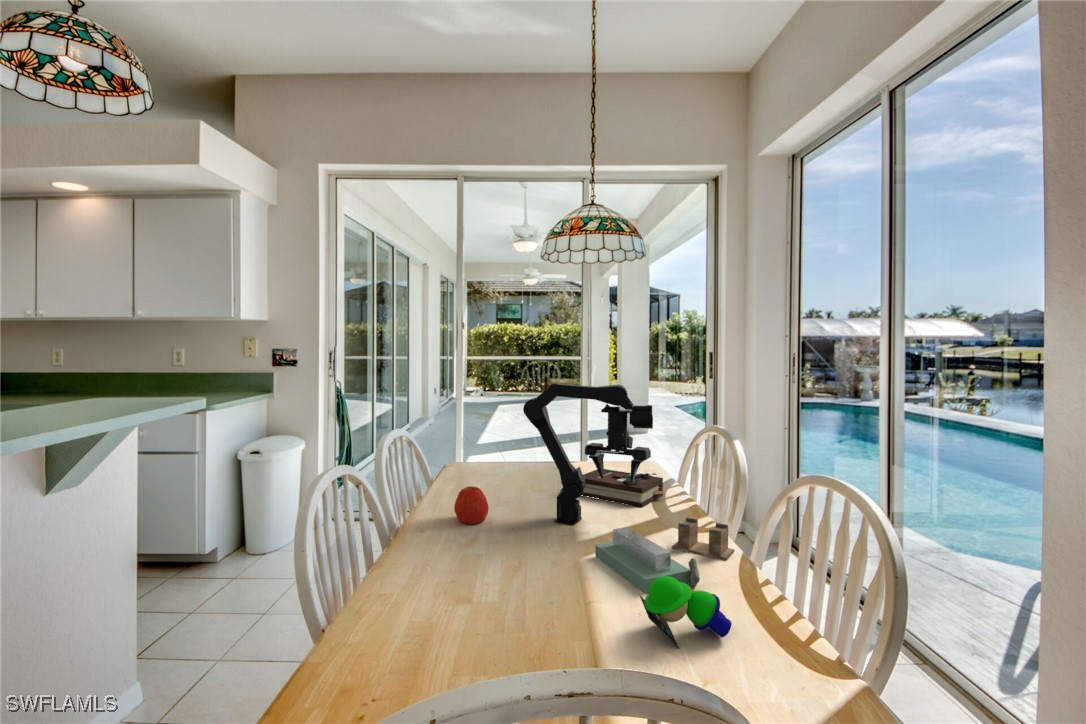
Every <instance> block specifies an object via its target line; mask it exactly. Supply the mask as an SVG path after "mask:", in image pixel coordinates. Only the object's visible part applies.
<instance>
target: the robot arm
mask: <svg viewBox="0 0 1086 724" xmlns="http://www.w3.org/2000/svg"><path fill="white" fill-rule="evenodd" d="M627 390H628V389H627V388H626V387H625V386H624V385H622V384H610V385H609V384H607V385H601V386H600V385H599V386H592V385H579V384H578V385H577V384H566V383H560V382H553V383H551V384H550V385H549V386H548V387H547V388H546V389H545V390H544V391H542V392H541V393H540V394H539V395H537V396H536V397H533V398H531V399H528V400H527V401H526V402H525V403H524V404H523V408H522V411H523V414H524V415H525V417H526V418H527V420H528V421H529V422H530V423H531V424H532V425H533V426H534V427H535V429H537V431H538V432H539V434H540V437H541V438H542V441H543V442H544V445H545V446H546V448H547V450H548V453H549V454H550V456H551V457H552V460H553V462H554V463H555V465H556V467H557V470H558V473H559V477H560V481H561V485H562V488H561V489H560V490H559V492H558V493H557V495H556V518H555V519H554V520H553V521H554V522H555V523H559V524H566V525H573V526H575V525H576V524H577V523H579V521H580V522H581V520H582V519H583V518H582V505H580V504H581V503H580V501H581V500H580V499H578V498H581V497H582V496H581V495H582V493H583V491H584V488H585V479H586V477H585V476H584V473H583V472H582V468H581V467H580V466H578V467H577V468H576V467H575V466H574V465H573V464H572V462H571V461H570V458H569V457H568V455H567V453H566V451H565V449H564V447H563V446H562V443H561V441H560V439H559V438H558V435H557V434H556V432H555V430H554V427H553V425H552V423H551V421H550V416H549V411H548V407H547V406H548V405H549V404H551V402H553V401H554V400H555V399H556V398H557V397H558V398H559V397H562V398H574V399H583V400H594V401H598V402H601V403H605V406H604V407H603V408H601V413H607V431H605V432H606V435H605V436H607V445H606V446H604V444H603V443H599V442H597V443H596V442H591V443H589V444H586V446H585V447H584V455H585V456H588V459H591V460H592V462H593V464H594V466H595V468H596V470H598V472H599V474H600V477H601V479H603V478H604V469H605V467H604V466H605V465H604V458H605V454H609V455H610V454H611V455H618V456H631V457H632V458H633V459H632V460H630V473H631V482H633V481H634V478H635V476H636V474H638V470H639V468H640V465H641V464H642V463H643V462H645V461H647V460H649V459H650V458H651V457H652V456H651V455H652V454H651V453H652V452H651V451H652V450H651V449H650V448H649V447H647V446H646V447H643V446H636V447H635V448H633V441H634V438H633V437H632V436H630V435H629V430H628V414H629V426H630V425H631V427H633V429H654V416H653V405H651V404H648V405H647V404H646V405H637V404H635V405H634V403H633V401H632V400H631V399H630V398H629V396H628V395H629V393H628V391H627ZM610 405H612V406H610ZM620 407H621V408H623V409H621V408H620Z"/></svg>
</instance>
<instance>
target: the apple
mask: <svg viewBox="0 0 1086 724" xmlns="http://www.w3.org/2000/svg"><path fill="white" fill-rule="evenodd" d="M453 507H454V509H453V510H454V513H455V516H456V518H457V520H459V522H460V523H462V524H467V523H468V524H469V525H477V523H478V524H482V523H483V522H485V520H486V518H487V516H488V515H489V503H488V501H487V498H486V496H485V494H484V492H483V490H482V489H481V488H479V487H477V486H474V485H473V486H470V485H469V486H466V487H464V488H461V490H460V491H459V492H458V495H457V496H456V499H455V501H454V506H453Z"/></svg>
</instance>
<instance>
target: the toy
mask: <svg viewBox="0 0 1086 724" xmlns="http://www.w3.org/2000/svg"><path fill="white" fill-rule="evenodd" d="M639 597H640V600H641V602H642V604H643V607H644V610H645V611H646V614H647V618H648V619H649V620H650V621H651V622H652V623H653V625H655V626H656V627H657V628H658V629H659V630H660V631H661V632H662V633H663V634H664V635H665V636H666V637H667V638H668V639H669V640H670V641H671V642H672V643H673V644H674V645H675V646H676V647H677V648H678V649H679V648H680V646H679V644H678V642H677V641H676V637H675V636H674V633H673V631H672V630H671V627H670V625H669V623H675V622H678V621H680V620H682V619H683V618H684V616H685V615H686V616H687V618H688V619H689V620H690V622H691V623H692V624H693V626H694V628H695V629H696V630H698V631H706V630H707V629H709V630H710V631H712V632H713V633H715V634H716V635H717V636H719V638H725V637H726V636H727V635H728V634H729V633H730V631H731V629H732V621H731V620H730V619H729V618H727V617H726V615H725V614H724V613H723V612H722V611H721V610H720V608H721V601H720V598H719V596H717V595H716V594H715V593H711V592H708V591H704V590H701V589H700V590H693V591H692V588H691V586H690V584H685V583H682V582H678V581H677V580H676V579H675V578H673V577H670V576H661V577H659V578H657V579H655V580H654V581H653V582H652V584H651V586H650V588H649V593H647V595H646V596H645V598H644V597H643V596H642V595H639Z"/></svg>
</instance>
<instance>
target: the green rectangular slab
mask: <svg viewBox="0 0 1086 724" xmlns="http://www.w3.org/2000/svg"><path fill="white" fill-rule="evenodd" d="M595 558H597V559H598V560H599V561H601V562H603V564H605V565H607V566H608V567H609V568H610V569H612V570H613V571H614V572H616V573H618V574H619V575H620V576H621V577H623V578H624V579H625V580H626V581H627V582H630V583H631V584H632V585H634V586H635V587H636V588H638V589H639V590H640V591H641V592H643V593H645V594H649V588H650V586H651V584H652V582H653V581H654V580H655V579H657V578H659V577H661V576H670V577H673V578H675V579H676V580H677V581H678V582H682V583H685V584H687V585H690V584H692V578H691V570H690V568H688V567H686V566H684V565H683V564H681V563H680V562H677V561H676V560H675V559H672V558H671V570H667V571H662V572H657V573H655V572H654V571H652V570H651V569H649V568H648V567H646V566H644V565H643V564H641V563H640V562H638V561H637V560H635V559H634V558H632V557H631V556H629V555H628V554H626V553H625V552H623V551H622V550H620V549H618V548H617V547H615V546H614V545H613V541H611V542H609V541H608V542H605V543H599V544H595Z"/></svg>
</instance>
